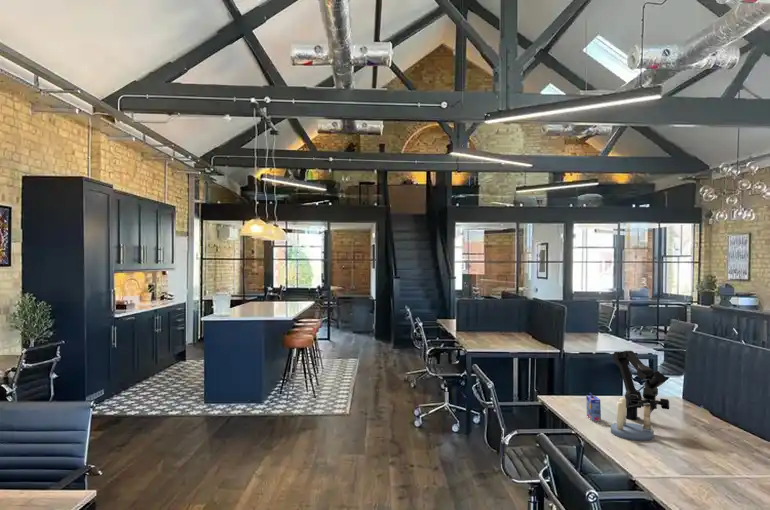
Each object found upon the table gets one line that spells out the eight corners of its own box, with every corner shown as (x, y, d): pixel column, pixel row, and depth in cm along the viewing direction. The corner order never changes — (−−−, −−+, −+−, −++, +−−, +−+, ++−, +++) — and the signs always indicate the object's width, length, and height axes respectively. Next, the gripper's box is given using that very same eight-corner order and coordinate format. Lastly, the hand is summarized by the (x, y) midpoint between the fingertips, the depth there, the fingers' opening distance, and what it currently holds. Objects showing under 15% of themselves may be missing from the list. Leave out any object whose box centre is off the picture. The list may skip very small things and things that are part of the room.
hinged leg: (643, 427, 264) (643, 402, 264) (650, 428, 262) (650, 403, 262) (643, 429, 261) (643, 404, 261) (650, 430, 259) (650, 405, 259)
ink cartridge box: (585, 416, 297) (585, 391, 298) (595, 416, 297) (595, 391, 297) (591, 421, 287) (591, 395, 288) (601, 421, 287) (601, 395, 287)
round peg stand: (614, 426, 279) (614, 395, 279) (655, 432, 268) (655, 401, 268) (607, 435, 262) (607, 403, 262) (651, 443, 251) (651, 409, 252)
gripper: (629, 379, 277) (626, 404, 267) (669, 384, 267) (667, 410, 257) (631, 390, 283) (628, 415, 274) (670, 396, 273) (668, 422, 264)
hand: (647, 415), depth 267 cm, fingers closed
